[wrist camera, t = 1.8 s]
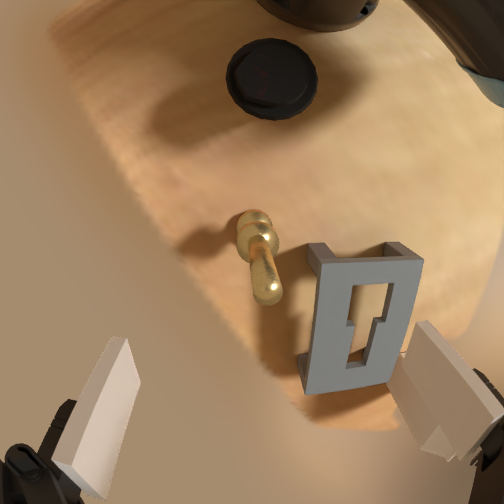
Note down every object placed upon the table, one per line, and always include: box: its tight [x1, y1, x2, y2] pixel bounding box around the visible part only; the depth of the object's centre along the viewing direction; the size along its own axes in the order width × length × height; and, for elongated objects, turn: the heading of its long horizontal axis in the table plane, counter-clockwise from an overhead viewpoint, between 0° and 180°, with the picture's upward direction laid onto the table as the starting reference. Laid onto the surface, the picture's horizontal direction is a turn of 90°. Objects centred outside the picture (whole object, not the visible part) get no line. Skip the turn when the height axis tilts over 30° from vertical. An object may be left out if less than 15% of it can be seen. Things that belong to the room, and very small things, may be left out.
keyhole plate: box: [297, 242, 424, 395], centre depth 33 cm, size 18×12×6 cm, turn 0°
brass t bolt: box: [236, 210, 283, 306], centre depth 25 cm, size 4×4×15 cm
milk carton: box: [386, 352, 456, 462], centre depth 32 cm, size 7×7×19 cm
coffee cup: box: [226, 38, 318, 121], centre depth 22 cm, size 7×7×10 cm
